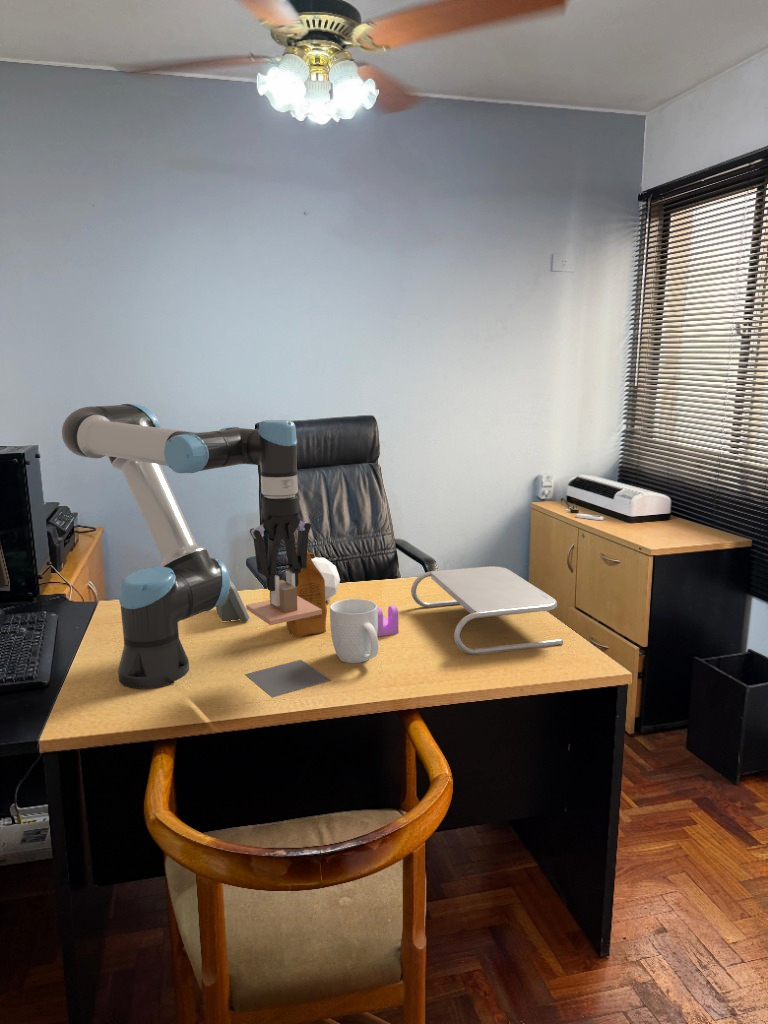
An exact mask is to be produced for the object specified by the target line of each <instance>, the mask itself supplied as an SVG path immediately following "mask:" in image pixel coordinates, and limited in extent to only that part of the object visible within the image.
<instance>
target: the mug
mask: <svg viewBox="0 0 768 1024" xmlns="http://www.w3.org/2000/svg"><path fill="white" fill-rule="evenodd" d="M377 608H378V604H377V603H375V601H373V600H369V599H363V598H346V599H341V600H338V601H334V602H333V603H331V604H330V606H329V621H330V623H329V624H330V625H329V626H330V634H331V635H330V636H331V641H332V645H333V648H334V652H335V654H336V655H337V657H338V659H339V660H340V661H341V662H343V663H347V664H359V663H363V662H366V661H369V660H371V659H374V658H375V657H377V655H378V653H379V638H378V636H377V630H378V614H377Z"/></svg>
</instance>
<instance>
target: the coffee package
mask: <svg viewBox="0 0 768 1024" xmlns="http://www.w3.org/2000/svg"><path fill="white" fill-rule="evenodd" d="M296 554H297V548H296ZM315 557H316V555H315V554H314V553H311V552H309V551H307V566H306V568H302V569H300V570H301V572H300V573H298V582H299V584H298V586H296V588H297V596H299V597H300V598H302V599H304V600H306V601H308V602H309V603H311V604H313V605H315V606H317V607H318V608H320V609H322V614H320V615H315V616H311V617H306V618H302V619H297V620H293V621H288V622H286V627H287V629H288V632H289V634H290V635H293V636H294V637H296V638H297V637H298V638H301V637H306V636H309V635H317V634H321V633H324V632H326V631H327V624H326V623H327V622H326V621H327V614H328V607H327V601H325V598H326V597H325V580H324V578H323V576H322V575H321V573H320V572H319V570H318V569H317V568H316V566H315V565H314V563H313V562H312V560H311V559H313V558H315ZM288 569H289V568H288ZM288 571H290V569H289V570H288Z"/></svg>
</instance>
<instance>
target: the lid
mask: <svg viewBox="0 0 768 1024" xmlns="http://www.w3.org/2000/svg"><path fill="white" fill-rule="evenodd" d="M279 592H280V606H278V607H277V606H275V605H273V604H272V603H271V591H269V599H268V600H264V601H259V602H254V603H248V604H246V606H245V608H246V611H247V612H250V613H251V614H253V616H255V617H257V618H259V619H260V620H261V621H263V622H265V624H268V625H269V626H274V625H277V624H278V625H279V624H282V623H287V622H288V621H293V620H297V619H302V618H306V617H311V616H315V615H320V614H322V609H320V608H318V607H317V606H315V605H313V604H311V603H309V602H308V601H306V600H304V599H302V598H300V597H299V596H297V588H296V587H295V586H293V585H291V584H289V583H287V582H286V580H284V579H279Z"/></svg>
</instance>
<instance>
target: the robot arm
mask: <svg viewBox="0 0 768 1024" xmlns="http://www.w3.org/2000/svg"><path fill="white" fill-rule="evenodd" d="M61 437H62V440H63V443H64V444H65V446H66V447H67V449H68V450H69V451H70V452H72V453H73V454H75V455H76V456H79V457H82V458H90V459H102V458H103V457H108V460H109V461H110V463H111V465H112V467H113V468H114V469H117V470H120V471H121V472H122V474H123V475H124V477H125V481H126V482H127V484H128V487H129V489H130V491H131V494H132V495H133V497H134V501H135V502H136V504H137V507H138V509H139V511H140V513H141V515H142V517H143V520H144V522H145V525H146V527H147V530H149V533H150V535H151V538H152V540H153V541H154V544H155V546H156V548H157V551H158V553H159V555H160V557H161V559H162V561H161V564H160V566H152V567H150V568H143V569H139V570H136V571H134V572H132V573H130V574H127V576H125V577H124V578H123V579H122V581H121V582H120V585H119V599H118V601H119V605H120V610H121V612H120V613H121V623H122V637H123V649H122V653H121V655H120V656H121V657H120V661H119V665H118V668H117V677H118V682H119V683H120V685H123V686H125V687H128V688H131V689H132V688H133V689H154V688H161V687H164V686H168V685H171V684H174V683H175V681H178V680H180V679H181V678H183V677H185V676H186V675H187V674H188V672H189V671H190V661H189V659H188V656H187V654H186V651H185V649H184V646H183V644H182V642H181V640H180V635H179V622H181V621H183V620H186V619H188V618H189V619H190V618H192V617H194V616H197V615H199V614H203V613H204V612H206V613H207V612H210V611H211V610H213V609H214V608H216V607H217V606H219V605H220V604H222V603H223V602H224V601H225V599H226V598H227V596H228V593H229V589H230V580H231V578H230V574H229V573H230V572H229V570H228V568H227V566H226V565H225V564H224V563H223V562H222V561H221V560H220V559H218V558H214V557H210V555H209V552H208V551H207V548H205V547H203V546H200V545H198V544H197V542H196V540H195V537H194V536H193V533H192V532H191V529H190V526H189V525H188V523H187V521H186V518H185V516H184V513H183V511H182V510H181V507H180V505H179V503H178V501H177V497H176V496H175V494H174V492H173V490H172V488H171V485H170V483H169V481H168V479H167V476H166V475H165V473H164V470H163V468H162V466H164V467H165V466H167V467H168V468H169V469H171V470H172V471H173V472H174V473H177V474H195V473H198V472H202V471H208V470H213V469H219V468H226V467H227V468H228V467H232V466H237V465H239V466H240V465H253V466H254V465H255V466H259V467H260V483H261V484H260V486H261V487H260V488H261V490H260V491H261V494H262V497H261V514H262V520H261V522H260V525H259V526H257V527H255V528H250V530H249V533H250V536H251V538H252V539H253V545H254V554H255V561H256V569H257V573H258V574H260V575H262V576H265V577H266V588H267V590H268V591H269V592H270V591H271V603H272V604H273V605H275V606H277V607H278V606H280V592H279V580H280V576H279V575H277V574H276V573H277V565H278V556H279V546H280V544H281V540H283V541H284V546H285V547H284V548H285V553H286V558H287V563H288V564H287V565H288V569H290V571H289V570H286V571H285V582H287V583H289V584H291V585H293V586H295V587H296V586H298V584H299V582H298V573H300V572H301V570H300V569H302V568H306V566H307V552H308V549H309V548H308V545H309V544H308V543H309V542H308V541H309V533H310V531H311V528H312V523H310V522H306V521H304V520H301V518H300V517H299V496H298V495H296V494H297V493H298V492H299V489H298V487H299V486H298V465H297V464H298V463H297V462H298V460H297V459H298V453H297V452H298V439H297V430H296V424H295V423H294V422H293V421H291V420H288V419H287V420H286V419H269V420H262V421H260V422H259V424H258V428H257V429H255V428H245V427H243V428H242V427H237V426H234V427H222V428H220V429H219V430H215V431H205V432H204V431H202V432H193V431H186V430H185V431H184V430H179V429H171V428H164V427H163V428H162V427H161V423H160V421H159V420H158V417H157V416H156V414H155V413H154V412H153V410H151V409H150V408H148V407H146V406H145V405H142V404H132V403H122V404H118V405H116V404H115V405H114V404H113V405H101V406H97V405H96V406H94V405H93V406H83V407H81V408H78V409H75V410H74V411H72V412H71V413H70V414H69V415H68V416H67V417H66V418H65V420H64V421H63V424H62V427H61ZM296 530H298V531H297V541H296V537H295V536H296V535H295V532H296ZM264 532H265V533H266V534H267V543H268V544H267V552H266V549H265V548H266V547H265V541H264V538H263V537H264V536H265V534H264ZM295 542H296V543H297V544H296V543H295ZM296 549H297V554H296ZM266 553H267V554H266Z"/></svg>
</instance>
